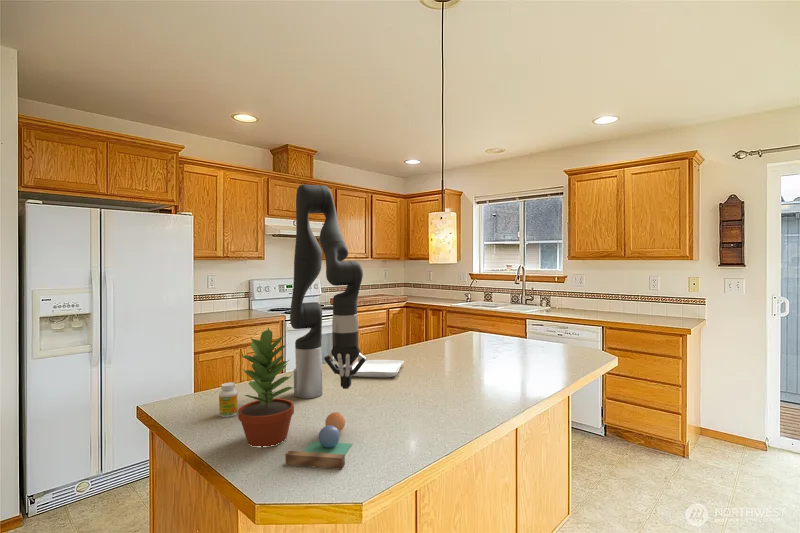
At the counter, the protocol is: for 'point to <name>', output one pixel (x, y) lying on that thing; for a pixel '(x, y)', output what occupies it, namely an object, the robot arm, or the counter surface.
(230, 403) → the supplement bottle
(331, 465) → the stopper wall
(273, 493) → the counter surface
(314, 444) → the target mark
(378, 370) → the salad plate
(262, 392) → the potted plant
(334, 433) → the object ball
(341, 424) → the orange ball
